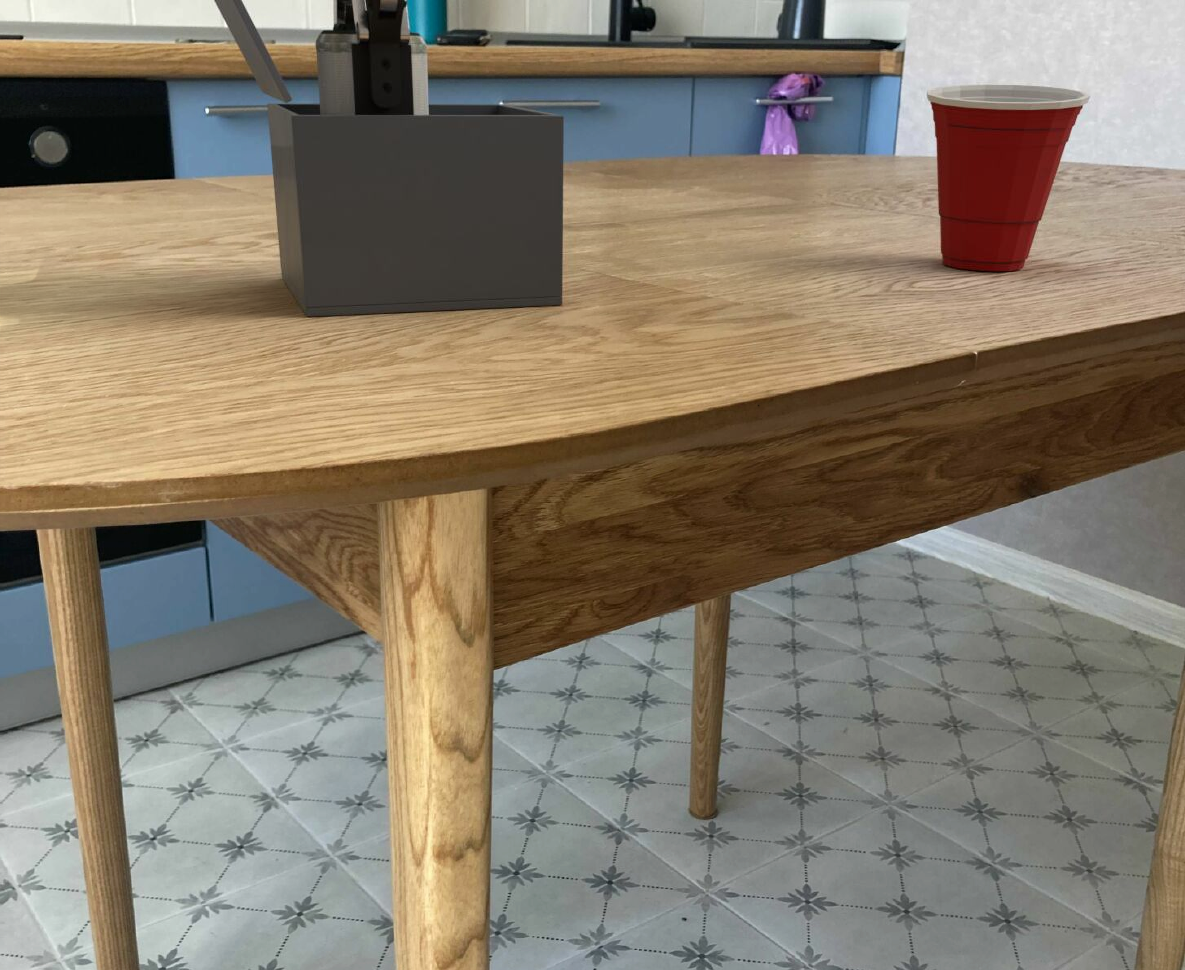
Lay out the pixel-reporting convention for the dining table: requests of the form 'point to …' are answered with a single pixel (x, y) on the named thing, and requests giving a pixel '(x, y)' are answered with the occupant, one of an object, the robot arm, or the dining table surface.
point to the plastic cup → (997, 167)
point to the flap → (253, 49)
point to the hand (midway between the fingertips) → (373, 115)
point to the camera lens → (339, 71)
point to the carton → (419, 208)
